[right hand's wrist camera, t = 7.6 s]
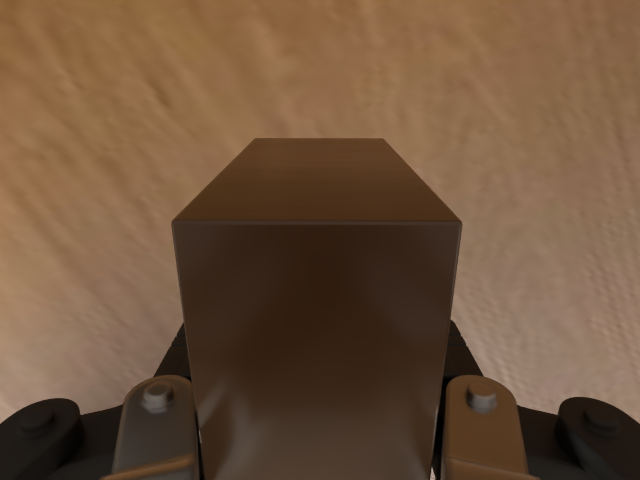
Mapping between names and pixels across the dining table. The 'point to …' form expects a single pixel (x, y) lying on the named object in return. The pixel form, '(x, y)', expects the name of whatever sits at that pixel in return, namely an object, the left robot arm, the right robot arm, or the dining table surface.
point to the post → (317, 312)
